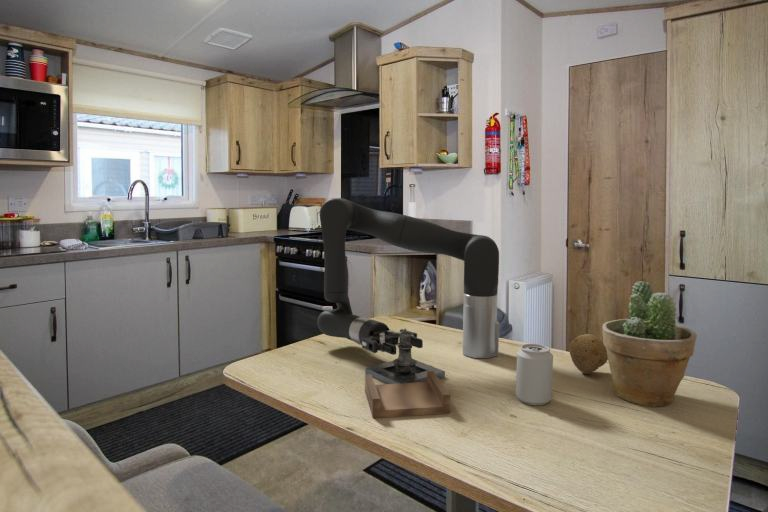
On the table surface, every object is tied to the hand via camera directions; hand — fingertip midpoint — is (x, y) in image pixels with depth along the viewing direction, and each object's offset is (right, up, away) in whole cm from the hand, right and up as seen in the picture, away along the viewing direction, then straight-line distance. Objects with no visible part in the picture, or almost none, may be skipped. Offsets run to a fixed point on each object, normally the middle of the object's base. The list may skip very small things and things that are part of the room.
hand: (408, 347), depth 125 cm
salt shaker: (-1, -8, +2) cm, 8 cm away
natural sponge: (+45, -7, +4) cm, 46 cm away
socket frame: (-1, -7, +2) cm, 8 cm away
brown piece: (-1, -9, -14) cm, 17 cm away
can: (+27, -9, -13) cm, 31 cm away
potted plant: (+52, -9, -11) cm, 54 cm away
